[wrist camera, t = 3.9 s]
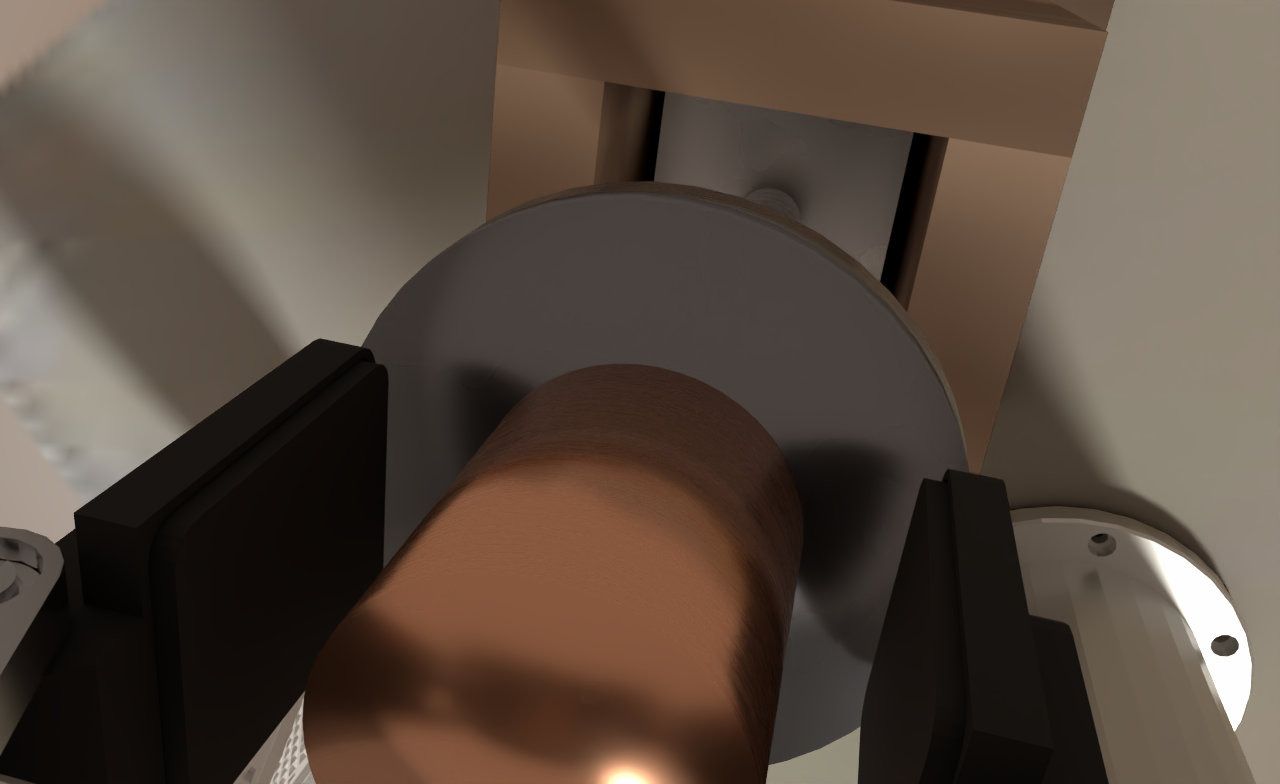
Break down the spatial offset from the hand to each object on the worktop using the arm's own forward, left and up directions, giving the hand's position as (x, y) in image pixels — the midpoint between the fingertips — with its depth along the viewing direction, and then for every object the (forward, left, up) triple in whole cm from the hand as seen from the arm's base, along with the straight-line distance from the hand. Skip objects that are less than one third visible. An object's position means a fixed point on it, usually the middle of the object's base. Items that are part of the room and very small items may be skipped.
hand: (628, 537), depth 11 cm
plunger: (0, 0, -15) cm, 15 cm away
